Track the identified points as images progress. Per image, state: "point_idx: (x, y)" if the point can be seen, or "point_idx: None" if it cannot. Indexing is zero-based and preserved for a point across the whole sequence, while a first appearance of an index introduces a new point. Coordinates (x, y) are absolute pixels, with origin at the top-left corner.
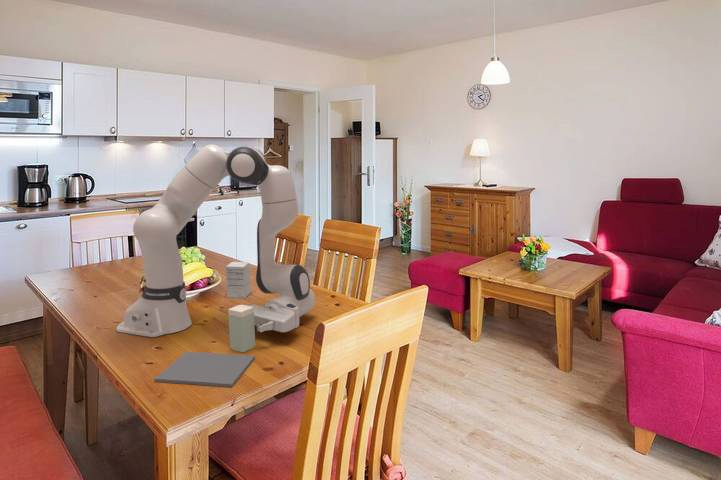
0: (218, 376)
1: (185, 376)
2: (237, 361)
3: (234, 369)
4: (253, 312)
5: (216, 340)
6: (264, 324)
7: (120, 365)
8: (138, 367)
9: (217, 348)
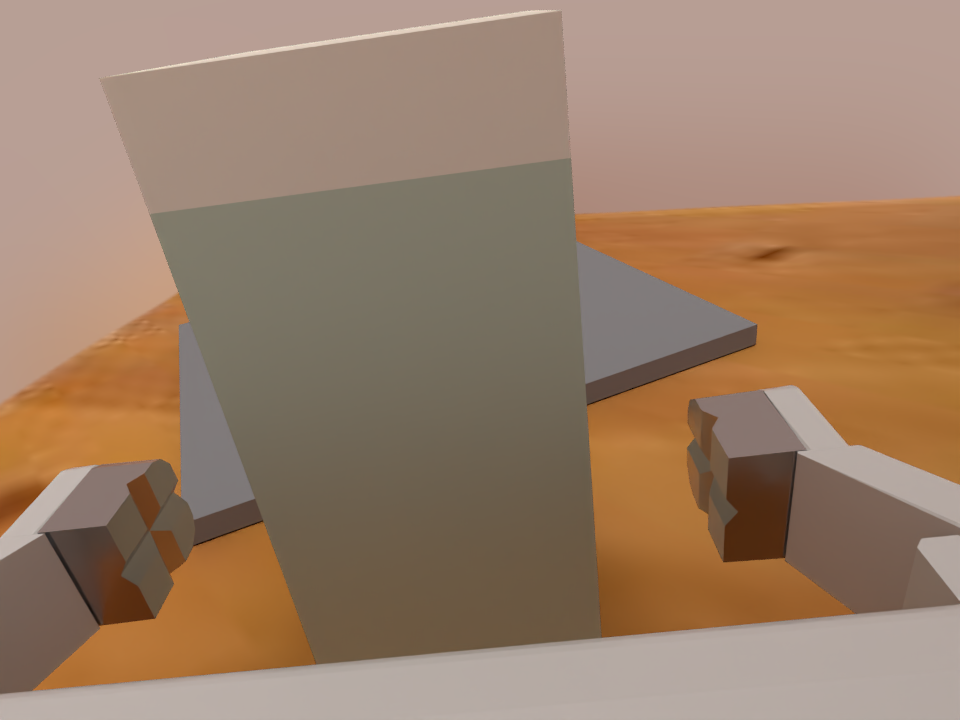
0: None
1: None
2: None
3: None
4: (157, 213)
5: None
6: (6, 538)
7: (837, 212)
8: (752, 234)
9: (689, 483)
